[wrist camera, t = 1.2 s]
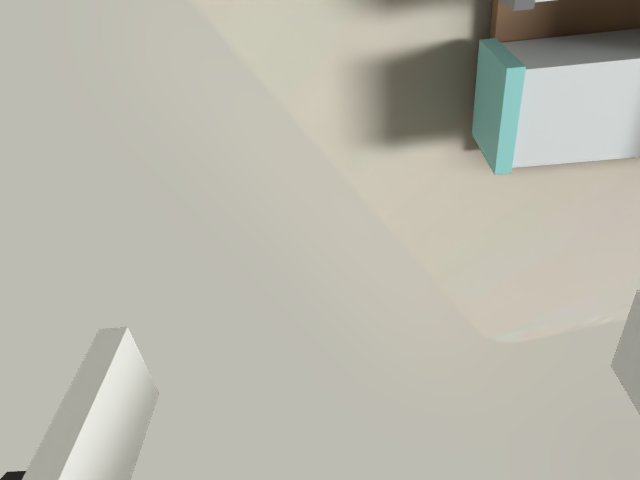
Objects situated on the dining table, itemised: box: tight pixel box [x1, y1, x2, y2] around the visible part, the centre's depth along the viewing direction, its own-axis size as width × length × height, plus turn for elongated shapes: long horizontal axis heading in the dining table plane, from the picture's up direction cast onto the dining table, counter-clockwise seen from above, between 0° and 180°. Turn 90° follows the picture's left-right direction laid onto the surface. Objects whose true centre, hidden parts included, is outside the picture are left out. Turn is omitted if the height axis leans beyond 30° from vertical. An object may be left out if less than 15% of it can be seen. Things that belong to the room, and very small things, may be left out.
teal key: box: [472, 29, 640, 175], centre depth 24 cm, size 5×13×5 cm, turn 96°
